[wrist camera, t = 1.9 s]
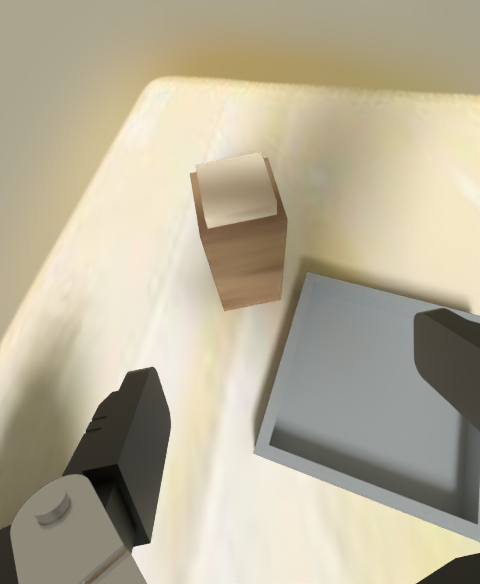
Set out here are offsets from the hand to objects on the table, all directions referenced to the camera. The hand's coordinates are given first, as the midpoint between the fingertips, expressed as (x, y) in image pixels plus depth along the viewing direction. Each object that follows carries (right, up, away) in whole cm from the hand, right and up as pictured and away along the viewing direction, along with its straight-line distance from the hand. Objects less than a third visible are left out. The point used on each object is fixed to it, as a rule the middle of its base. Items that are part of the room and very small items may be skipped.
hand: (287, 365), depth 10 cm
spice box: (-1, +3, +19) cm, 19 cm away
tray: (+8, -5, +14) cm, 17 cm away
